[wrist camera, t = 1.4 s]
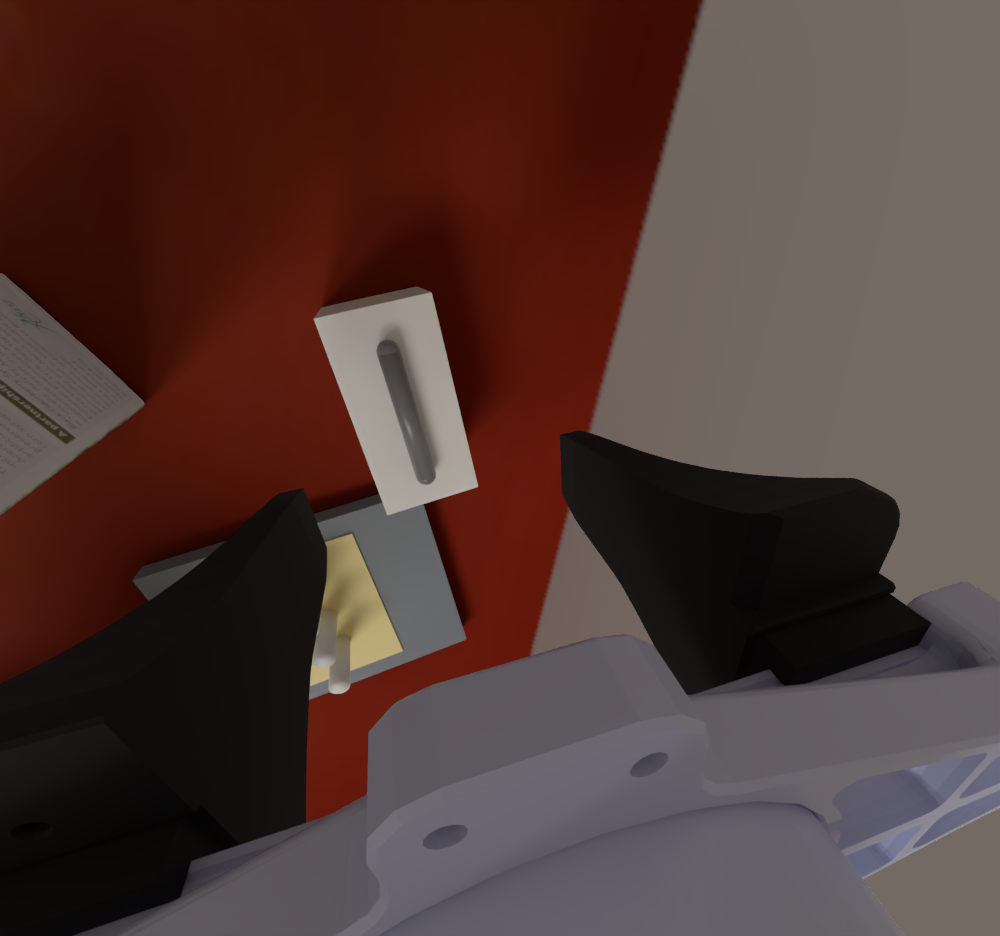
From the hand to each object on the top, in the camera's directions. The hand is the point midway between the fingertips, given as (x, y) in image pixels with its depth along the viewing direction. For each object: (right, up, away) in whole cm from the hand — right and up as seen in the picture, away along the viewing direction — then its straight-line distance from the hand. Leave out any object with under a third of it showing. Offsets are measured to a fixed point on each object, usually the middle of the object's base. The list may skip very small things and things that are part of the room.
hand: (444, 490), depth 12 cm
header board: (-8, -7, +11) cm, 15 cm away
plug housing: (-3, +4, +8) cm, 9 cm away
